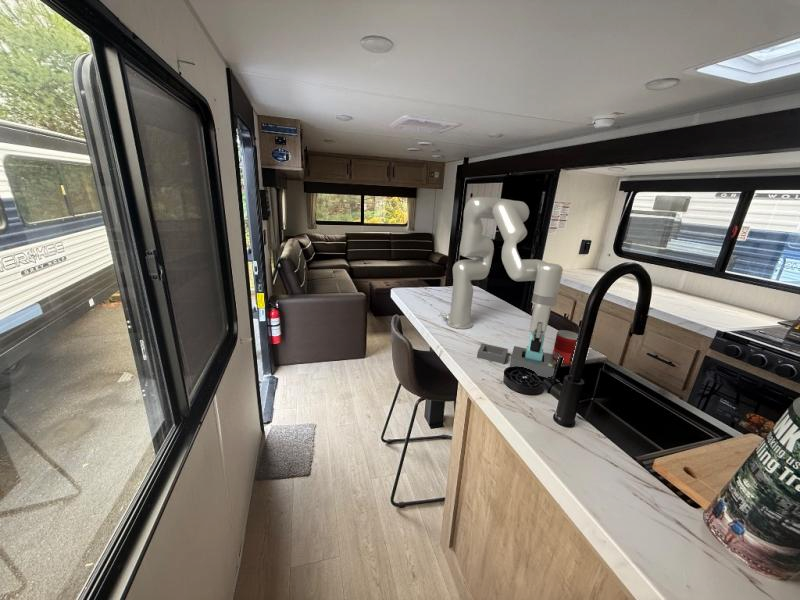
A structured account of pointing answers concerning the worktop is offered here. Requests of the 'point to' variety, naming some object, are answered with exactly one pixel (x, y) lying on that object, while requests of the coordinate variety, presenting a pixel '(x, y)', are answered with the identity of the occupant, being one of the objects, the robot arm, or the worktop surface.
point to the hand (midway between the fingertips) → (534, 348)
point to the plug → (534, 354)
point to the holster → (492, 353)
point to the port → (533, 362)
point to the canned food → (565, 345)
